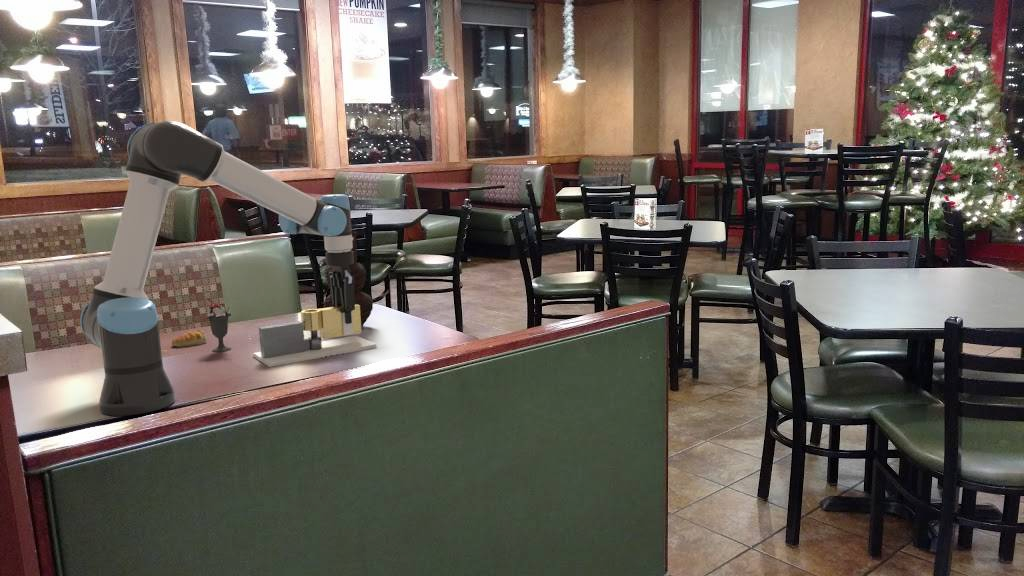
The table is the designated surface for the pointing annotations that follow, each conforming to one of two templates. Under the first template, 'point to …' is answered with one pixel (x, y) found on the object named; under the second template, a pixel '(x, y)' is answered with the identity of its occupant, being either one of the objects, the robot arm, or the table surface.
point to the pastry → (190, 339)
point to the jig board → (320, 351)
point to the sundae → (218, 324)
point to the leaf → (329, 321)
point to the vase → (355, 285)
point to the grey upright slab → (286, 340)
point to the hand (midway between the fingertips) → (345, 333)
